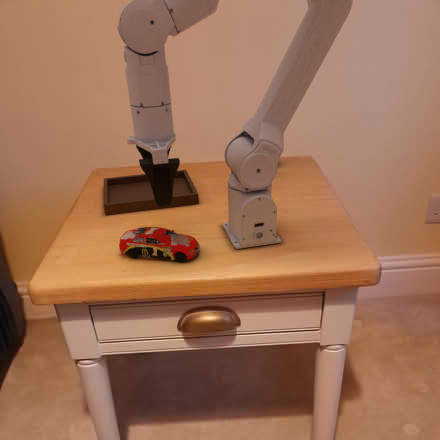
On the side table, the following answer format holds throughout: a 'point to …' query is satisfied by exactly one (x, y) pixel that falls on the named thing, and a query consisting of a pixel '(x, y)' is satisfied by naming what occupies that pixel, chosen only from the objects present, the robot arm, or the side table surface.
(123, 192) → the tray
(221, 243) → the side table surface
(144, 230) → the race car
